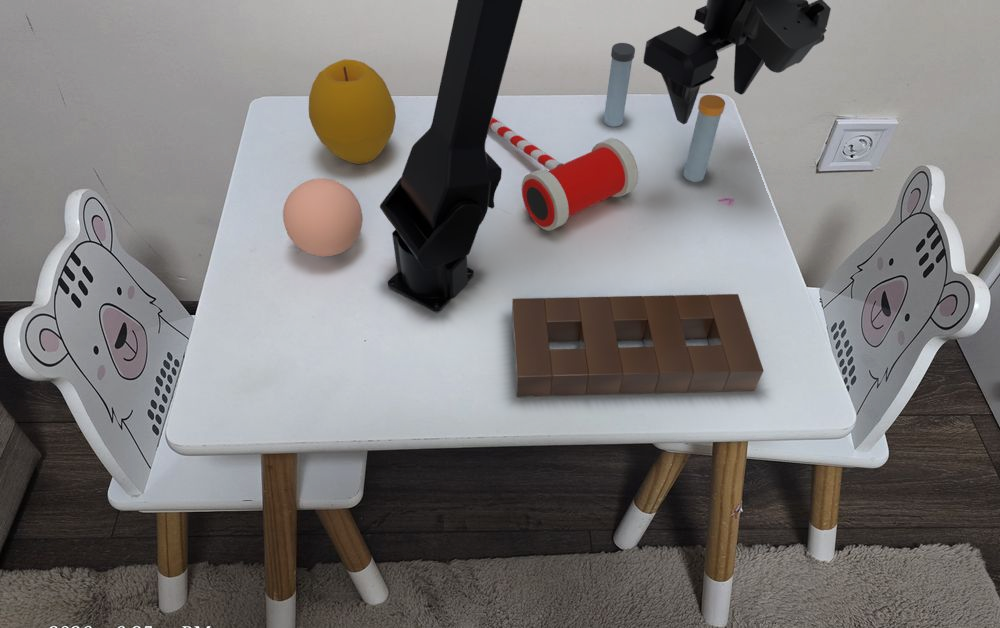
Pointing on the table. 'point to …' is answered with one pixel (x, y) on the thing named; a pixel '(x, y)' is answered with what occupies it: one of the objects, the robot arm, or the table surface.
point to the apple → (352, 111)
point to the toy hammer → (572, 178)
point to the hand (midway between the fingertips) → (710, 107)
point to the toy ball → (322, 217)
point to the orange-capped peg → (703, 137)
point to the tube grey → (618, 83)
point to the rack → (633, 368)
